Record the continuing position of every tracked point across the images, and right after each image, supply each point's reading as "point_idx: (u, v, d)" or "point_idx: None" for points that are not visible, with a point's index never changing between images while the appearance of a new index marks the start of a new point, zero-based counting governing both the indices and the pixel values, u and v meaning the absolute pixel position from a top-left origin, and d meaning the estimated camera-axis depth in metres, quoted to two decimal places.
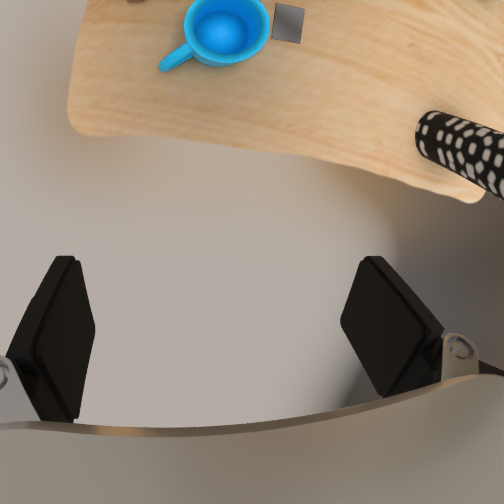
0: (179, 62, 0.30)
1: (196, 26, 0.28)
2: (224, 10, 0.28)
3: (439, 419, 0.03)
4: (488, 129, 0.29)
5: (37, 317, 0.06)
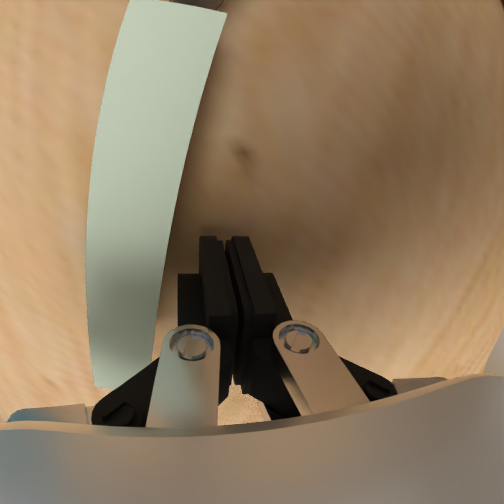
0: None
1: None
2: None
3: (439, 419, 0.03)
4: None
5: (220, 287, 0.08)
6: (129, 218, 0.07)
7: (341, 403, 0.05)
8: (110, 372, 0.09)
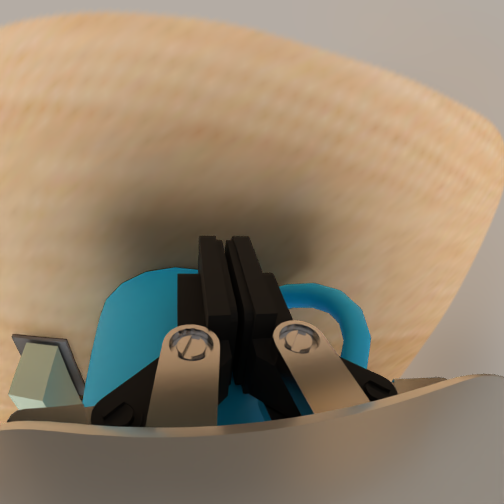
0: (287, 295, 0.13)
1: None
2: None
3: (439, 419, 0.03)
4: None
5: (219, 286, 0.08)
6: None
7: (341, 403, 0.05)
8: None
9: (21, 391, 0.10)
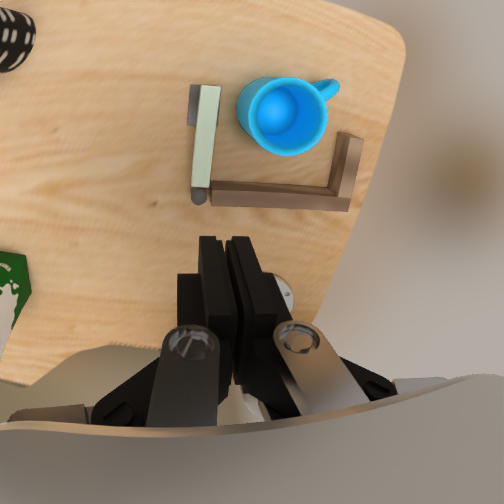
0: (312, 85, 0.33)
1: (294, 119, 0.35)
2: (268, 135, 0.36)
3: (439, 419, 0.03)
4: None
5: (219, 287, 0.08)
6: (203, 145, 0.33)
7: (341, 403, 0.05)
8: (213, 95, 0.30)
9: (208, 85, 0.30)
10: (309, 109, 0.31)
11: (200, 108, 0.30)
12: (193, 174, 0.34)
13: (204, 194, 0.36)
